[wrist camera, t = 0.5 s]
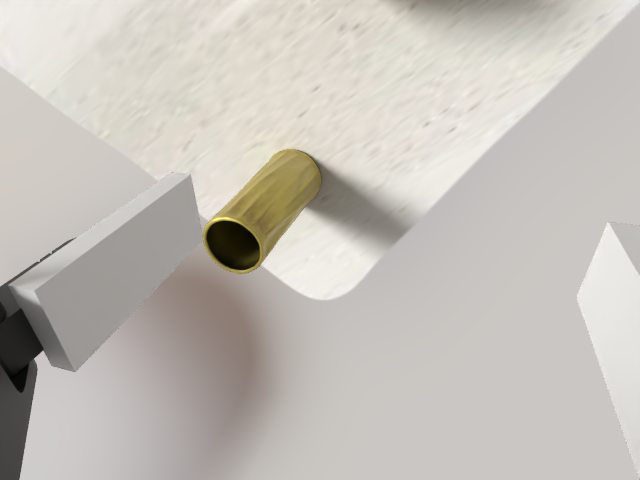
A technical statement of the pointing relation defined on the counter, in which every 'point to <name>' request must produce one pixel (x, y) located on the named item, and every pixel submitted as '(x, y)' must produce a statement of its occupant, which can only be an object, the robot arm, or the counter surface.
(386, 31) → the counter surface
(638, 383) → the robot arm
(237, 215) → the vase
